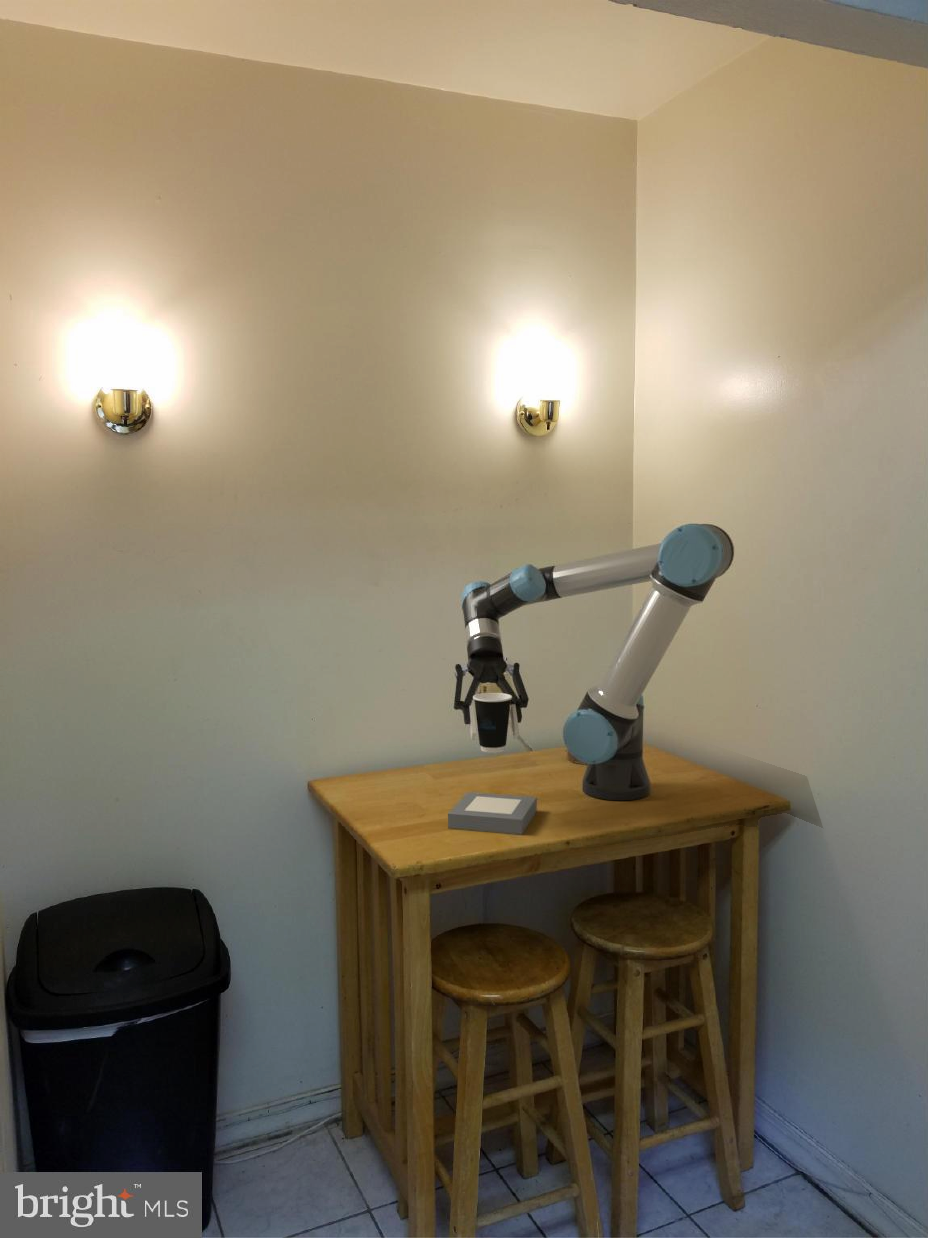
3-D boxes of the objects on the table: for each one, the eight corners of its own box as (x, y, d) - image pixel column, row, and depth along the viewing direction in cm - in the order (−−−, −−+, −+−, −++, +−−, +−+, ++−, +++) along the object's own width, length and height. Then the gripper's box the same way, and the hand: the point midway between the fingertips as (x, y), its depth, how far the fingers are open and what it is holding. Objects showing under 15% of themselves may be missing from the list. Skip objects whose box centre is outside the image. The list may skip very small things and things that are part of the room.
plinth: (536, 811, 194) (536, 796, 194) (521, 834, 180) (521, 819, 179) (468, 805, 198) (467, 791, 198) (447, 828, 184) (447, 813, 183)
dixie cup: (507, 743, 192) (506, 691, 191) (516, 753, 184) (516, 699, 183) (469, 745, 191) (469, 693, 189) (477, 755, 183) (477, 700, 182)
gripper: (529, 654, 202) (543, 744, 188) (435, 656, 200) (442, 747, 186) (534, 633, 196) (549, 724, 182) (436, 635, 194) (444, 727, 180)
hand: (495, 735), depth 184 cm, fingers closed on dixie cup, 8 cm apart
